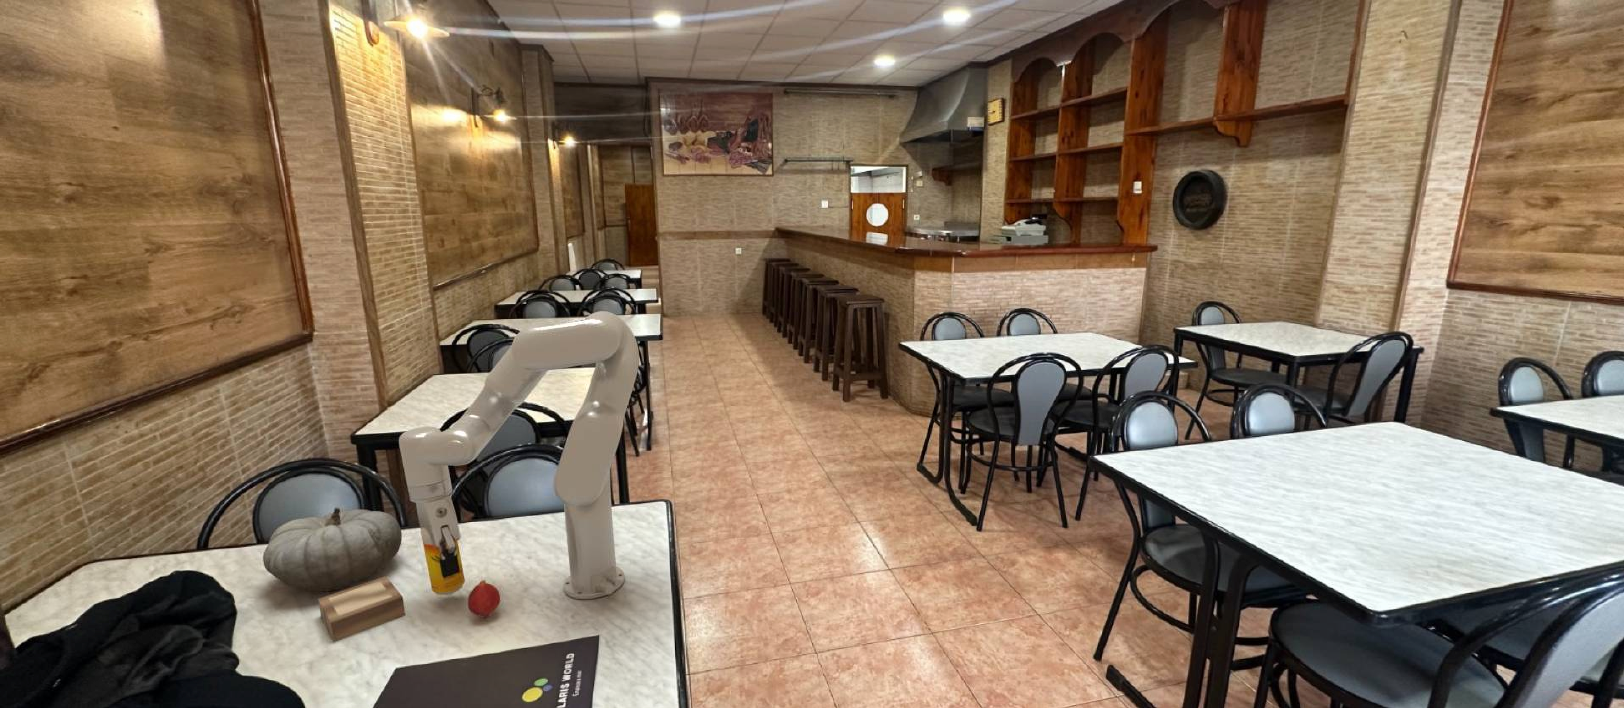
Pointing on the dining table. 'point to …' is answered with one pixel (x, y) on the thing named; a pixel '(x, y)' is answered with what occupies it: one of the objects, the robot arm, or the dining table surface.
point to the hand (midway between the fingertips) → (445, 568)
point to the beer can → (432, 557)
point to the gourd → (332, 549)
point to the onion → (483, 599)
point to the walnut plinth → (361, 607)
